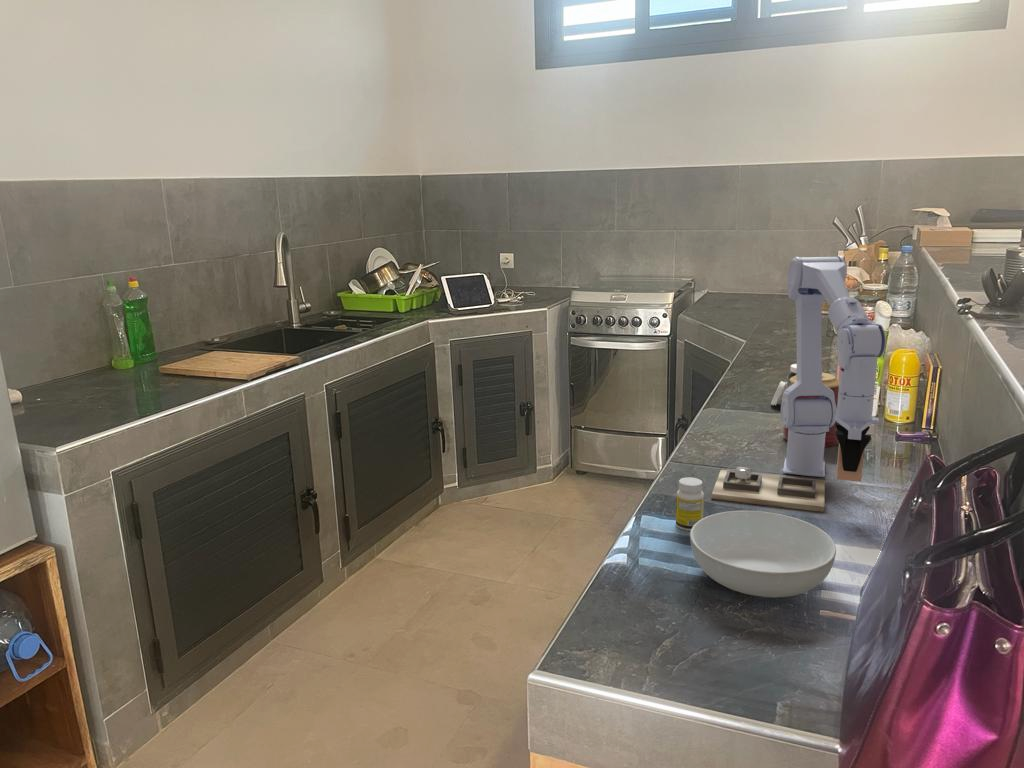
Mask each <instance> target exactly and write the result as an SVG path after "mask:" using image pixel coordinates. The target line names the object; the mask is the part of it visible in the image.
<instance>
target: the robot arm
mask: <svg viewBox="0 0 1024 768" xmlns="http://www.w3.org/2000/svg"><path fill="white" fill-rule="evenodd" d="M847 274H848V266H847V262H846V260H845V259H844V257H843V256H840V255H837V256H816V257H815V256H813V257H812V256H810V257H809V256H807V257H803V256H802V257H801V256H800V257H799V256H794V257H793V258H792V259H791V261H790V262H789V265H788V268H787V293H788V298H789V299H790V300H792V301H794V302H795V311H796V318H795V320H796V325H795V326H796V328H795V329H796V331H795V332H796V335H795V336H796V364H797V381H796V382H795V383H794V384H792V385H791V386H790V387H788V388H787V389H786V390H785V389H784V390H783V392H782V397H781V398H782V399H781V400H782V401H781V405H780V418H781V423H782V425H785V427H786V428H789V429H788V441H787V445H786V457H785V458H784V463H783V469H782V473H783V474H786V475H787V474H789V475H796V476H797V475H798V476H799V475H800V476H807V477H817V478H825V476H826V475H825V473H826V472H825V470H826V461H825V460H824V457H825V447H824V446H825V434H826V432H829V427H832V426H833V425H834V423H835V422H836V423H835V425H836V428H837V430H838V431H836V437H837V439H838V441H839V443H838V445H839V444H840V448H841V453H842V465H843V470H844V471H851V472H856V471H857V469H858V466H859V463H860V460H861V456H862V454H863V451H864V452H865V449H866V447H867V446H868V444H869V443H870V442H871V440H872V435H871V434H867V432H868V431H869V430H870V426H871V425H879V423H880V419H879V417H876V416H875V417H874V416H873V408H874V399H875V388H876V387H875V386H876V381H877V379H876V378H877V377H876V376H877V367H878V358H881V357H882V356H883V355H884V354H885V353H884V352H885V350H886V347H887V337H886V332H885V329H884V327H883V325H882V324H881V323H876V322H875V321H871V320H870V318H869V316H868V314H867V312H866V311H865V309H864V307H863V306H862V304H861V302H860V301H859V300H858V299H857V298H855V297H850V294H849V291H848V289H847V286H846V279H847V276H848V275H847ZM825 301H826V302H827V304H828V305H829V308H828V310H827V311H828V312H827V316H828V318H829V320H830V322H831V324H832V327H833V329H834V331H835V333H836V335H837V338H836V348H837V349H836V350H837V356H838V358H837V363H838V364H837V365H838V366H839V367H840V371H839V372H840V373H839V380H840V381H839V392H838V404H837V408H836V404H835V397H834V392H833V391H832V390H831V389H830V388H829V387H827V386H826V385H825V384H823V383H822V373H823V365H822V364H823V362H822V361H823V356H822V355H823V354H822V353H823V351H822V350H823V348H822V342H823V336H822V334H823V333H822V330H823V328H822V326H823V325H822V323H823V322H822V320H823V319H822V313H823V312H822V311H823V310H822V305H823V304H824V302H825ZM816 395H819V396H820V397H821V398H796V397H798V396H816Z"/></svg>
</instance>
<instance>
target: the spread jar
mask: <svg viewBox="0 0 1024 768" xmlns="http://www.w3.org/2000/svg"><path fill="white" fill-rule="evenodd" d="M789 371H790V372H789V373H788V375H787V376H786V379H785V380H786V381H782V380H781V381H780V382H779V384H778V386H777V389H776V391H775V392H774V395H773V397H772V399H771V402H770V405H772V406H774V405H775V406H774V407H776V406H777V404H778V402H779V400H780V398H781V396H782V395H783V392H784V391H785V388H786V387H787V386H789V385H791V382H790V378H791V377H793V376H795V375H797V363H792V364H791V365H790V370H789Z"/></svg>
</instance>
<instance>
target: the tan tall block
mask: <svg viewBox="0 0 1024 768" xmlns="http://www.w3.org/2000/svg"><path fill="white" fill-rule="evenodd" d="M864 457H865V450H864V451H863V454H862V456H861V460H860V463H859V466H858V469H857V471H856V472H851V471H844V470H843V465H842V453H841V448H840V444H839V443H838V451H837V459H836V460H837V463H836V480H838V481H839V480H840V481H850V482H858V483H861V482H862V478H863V477H862V476H863V469H864V468H863V466H864Z"/></svg>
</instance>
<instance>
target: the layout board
mask: <svg viewBox="0 0 1024 768" xmlns="http://www.w3.org/2000/svg"><path fill="white" fill-rule="evenodd" d="M825 485H826V482H825V480H821V479H814V478H803V477H794V476H785V475H784V476H783V475H776V474H775V475H774V474H768V473H767V474H765V473H758V472H756V473H755V472H751V484H745V483H736V482H735V470H730V469H729V470H728V469H720V471H719V473H718V477H717V478H716V481H715V484H714V487H713V490H712V492H711V499H712V500H713V499H714V500H720V501H727V502H728V501H730V502H738V503H745V504H755V505H764V506H771V507H779V508H787V509H795V510H806V511H813V512H819V511H820V512H821V513H825V498H826V497H825V493H826V492H825V487H826V486H825Z"/></svg>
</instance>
